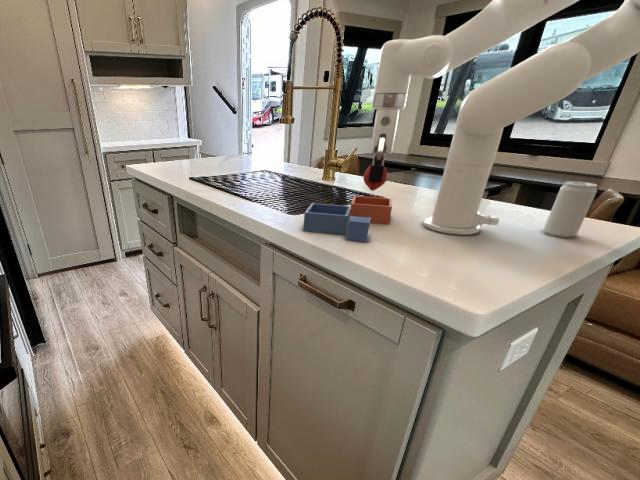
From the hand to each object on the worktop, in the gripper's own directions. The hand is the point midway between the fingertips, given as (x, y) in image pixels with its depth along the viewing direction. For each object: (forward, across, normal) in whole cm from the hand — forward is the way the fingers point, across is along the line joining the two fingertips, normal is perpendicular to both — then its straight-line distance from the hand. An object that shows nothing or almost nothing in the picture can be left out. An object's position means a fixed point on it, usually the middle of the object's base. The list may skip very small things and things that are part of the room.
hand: (375, 179), depth 95 cm
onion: (+3, 0, 0) cm, 3 cm away
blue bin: (+10, -13, +10) cm, 19 cm away
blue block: (+10, -20, +2) cm, 22 cm away
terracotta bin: (+10, 0, 0) cm, 10 cm away
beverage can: (+10, 0, -44) cm, 45 cm away
